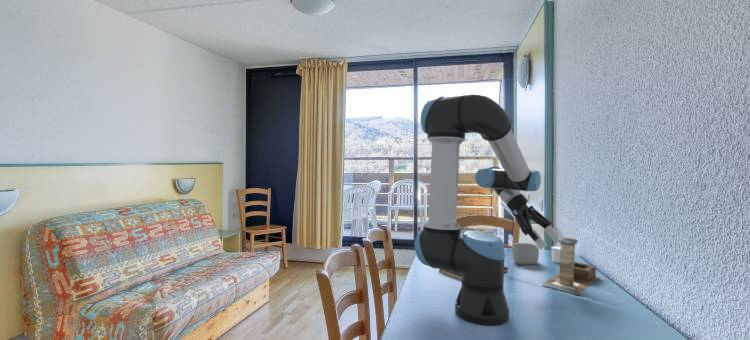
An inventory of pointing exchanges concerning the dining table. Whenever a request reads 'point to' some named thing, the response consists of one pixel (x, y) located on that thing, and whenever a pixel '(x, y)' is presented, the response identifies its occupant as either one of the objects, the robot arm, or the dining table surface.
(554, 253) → the short white cylinder
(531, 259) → the teacup
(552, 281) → the socket board
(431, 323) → the dining table surface
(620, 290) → the dining table surface
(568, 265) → the capped plug
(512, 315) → the dining table surface
